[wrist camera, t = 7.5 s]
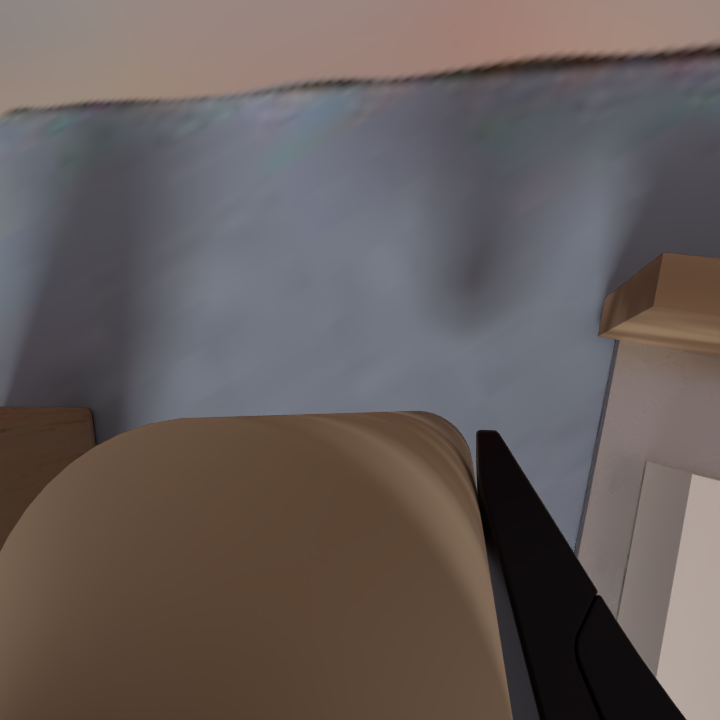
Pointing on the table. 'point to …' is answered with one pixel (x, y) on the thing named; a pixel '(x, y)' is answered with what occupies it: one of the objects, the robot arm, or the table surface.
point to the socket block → (677, 587)
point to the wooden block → (37, 454)
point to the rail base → (652, 403)
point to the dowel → (256, 577)
